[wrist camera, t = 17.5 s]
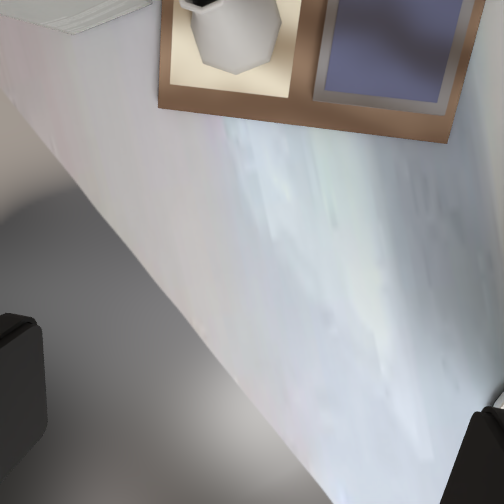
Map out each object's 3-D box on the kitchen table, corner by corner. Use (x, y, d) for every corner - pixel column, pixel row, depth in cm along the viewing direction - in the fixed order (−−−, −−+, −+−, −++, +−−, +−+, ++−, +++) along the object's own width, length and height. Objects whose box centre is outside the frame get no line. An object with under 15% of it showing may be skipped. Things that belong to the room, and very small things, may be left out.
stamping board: (443, 143, 32) (451, 144, 30) (162, 108, 35) (152, 107, 33) (497, -62, 27) (511, -77, 25) (170, -84, 30) (159, -99, 28)
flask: (193, 76, 32) (143, 55, 23) (189, -26, 30) (131, -96, 21) (281, 74, 31) (265, 51, 22) (283, -32, 29) (267, -109, 20)
